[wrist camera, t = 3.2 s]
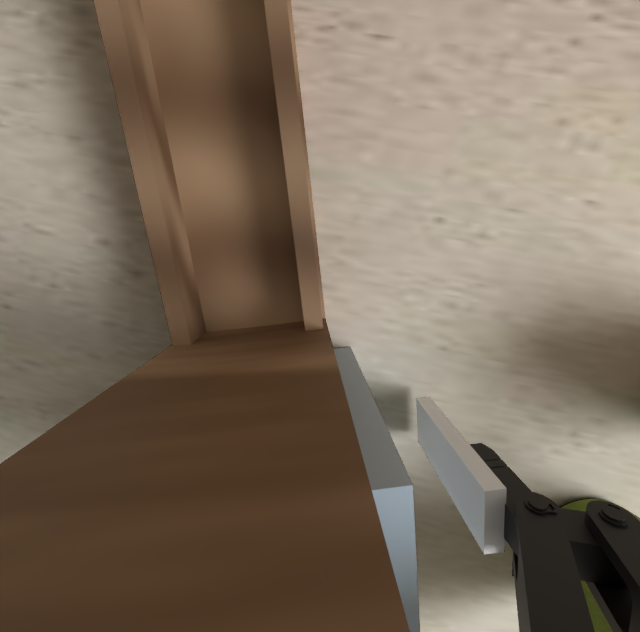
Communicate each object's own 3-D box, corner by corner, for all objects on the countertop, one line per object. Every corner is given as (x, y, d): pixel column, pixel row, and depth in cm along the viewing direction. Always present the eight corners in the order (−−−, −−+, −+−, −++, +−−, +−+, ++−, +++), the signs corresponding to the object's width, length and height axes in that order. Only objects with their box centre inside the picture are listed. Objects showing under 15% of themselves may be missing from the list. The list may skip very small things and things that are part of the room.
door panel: (304, 491, 18) (301, 763, 9) (284, 354, 16) (252, 505, 7) (365, 483, 18) (430, 745, 9) (352, 346, 16) (419, 484, 7)
